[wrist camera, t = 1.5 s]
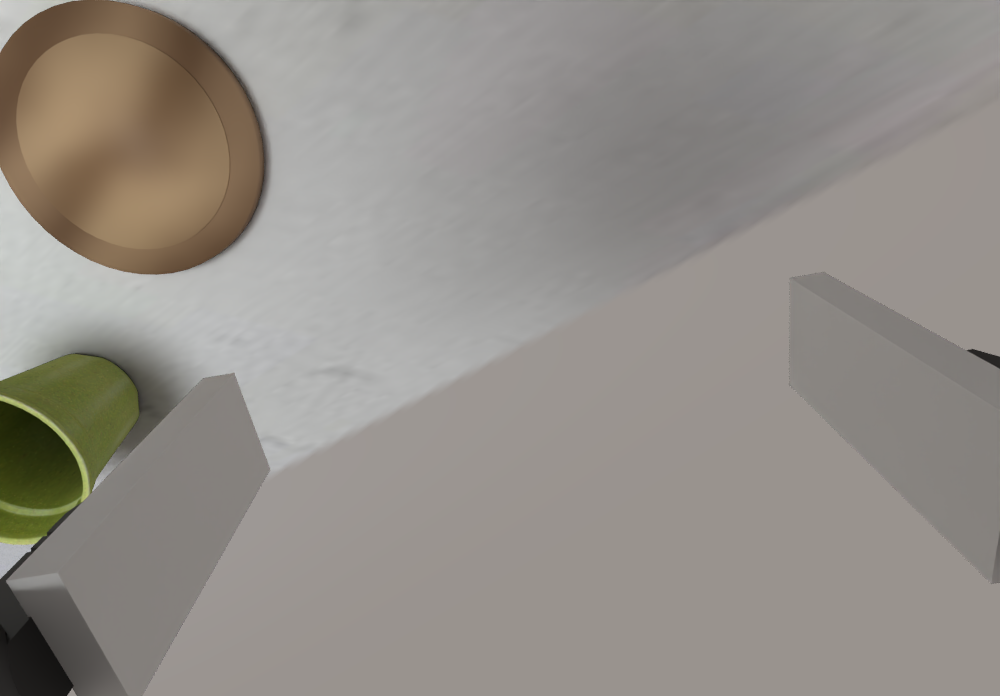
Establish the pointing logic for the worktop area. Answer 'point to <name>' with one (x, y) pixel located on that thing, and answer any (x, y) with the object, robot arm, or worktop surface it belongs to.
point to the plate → (127, 137)
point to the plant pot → (58, 439)
